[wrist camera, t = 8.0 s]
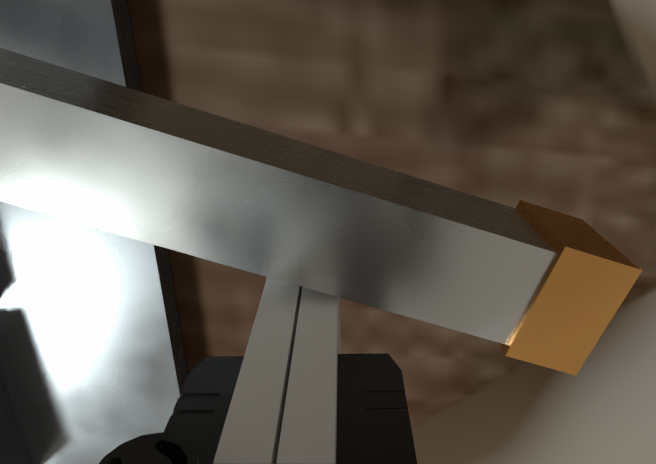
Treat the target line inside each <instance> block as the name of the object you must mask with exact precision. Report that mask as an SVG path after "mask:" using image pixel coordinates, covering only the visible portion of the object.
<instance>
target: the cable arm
mask: <svg viewBox="0 0 656 464" xmlns="http://www.w3.org/2000/svg"><path fill="white" fill-rule="evenodd" d="M0 201H2V202H5V203H9V204H12V205H16V206H19V207H23V208H26V209H30V210H33V211H37V212H40V213H44V214H47V215H51V216H54V217H58V218H62V219H65V220H69V221H72V222H76V223H79V224H83V225H86V226H90V227H93V228H97V229H100V230H104V231H107V232H111V233H114V234H118V235H121V236H125V237H129V238H132V239H136V240H139V241H143V242H146V243H150V244H153V245H157V246H160V247H164V248H167V249H171V250H174V251H178V252H181V253H185V254H188V255H192V256H196V257H199V258H203V259H206V260H210V261H213V262H217V263H220V264H224V265H227V266H231V267H234V268H238V269H241V270H245V271H248V272H252V273H256V274H259V275H263V276H266V277H270V278H273V279H277V280H280V281H284V282H287V283H291V284H294V285H298V286H301V287H305V288H308V289H312V290H315V291H319V292H323V293H326V294H330V295H333V296H337V297H340V298H344V299H347V300H351V301H354V302H358V303H361V304H365V305H368V306H372V307H375V308H379V309H382V310H386V311H390V312H393V313H397V314H400V315H404V316H407V317H411V318H414V319H418V320H421V321H425V322H428V323H432V324H435V325H439V326H442V327H446V328H450V329H453V330H457V331H460V332H464V333H467V334H471V335H474V336H478V337H481V338H485V339H488V340H492V341H495V342H499V344H500V346H501V348H502V350H503V352H504V354H505V356H508V357H512V358H515V359H519V360H522V361H526V362H530V363H533V364H537V365H540V366H544V367H548V368H552V369H555V370H558V371H562V372H565V373H569V374H572V375H576V374H577V373H578V371H579V370H580V368H581V366H582V365H583V363H584V362H585V360H586V358H587V357H588V355H589V354H590V352H591V351H592V349H593V347H594V346H595V344H596V343H597V341H598V340H599V338H600V336H601V335H602V333H603V332H604V330H605V328H606V327H607V325H608V324H609V322H610V321H611V319H612V318H613V316H614V314H615V313H616V311H617V310H618V308H619V306H620V305H621V303H622V302H623V300H624V299H625V297H626V295H627V294H628V292H629V291H630V289H631V288H632V286H633V284H634V283H635V281H636V280H637V278H638V276H639V275H640V273H641V272H642V269H640V268H639V267H638V266H637V265H636V264H635V263H633V262H632V261H631V260H630V259H629V258H627V257H626V256H625V255H624V254H623V253H621V252H620V251H619V250H618V249H617V248H615V247H614V246H613V245H612V244H611V243H609V242H608V241H607V240H606V239H605V238H604V237H602V236H601V235H600V234H599V233H598V232H596V231H595V230H594V229H593V228H592V227H590V226H589V225H588V224H587V223H586V222H584V221H583V220H582V219H579V218H576V217H573V216H570V215H566V214H563V213H560V212H557V211H554V210H550V209H547V208H544V207H541V206H538V205H534V204H531V203H528V202H525V201H522V200H520V201H519V203H518V205H517V207H516V208H512V207H509V206H506V205H503V204H500V203H496V202H493V201H490V200H487V199H484V198H480V197H477V196H474V195H471V194H468V193H464V192H461V191H458V190H455V189H452V188H448V187H445V186H442V185H439V184H436V183H432V182H429V181H426V180H423V179H419V178H416V177H413V176H410V175H407V174H403V173H400V172H397V171H394V170H391V169H387V168H384V167H381V166H378V165H375V164H371V163H368V162H365V161H362V160H359V159H355V158H352V157H349V156H346V155H343V154H339V153H336V152H333V151H330V150H326V149H323V148H320V147H317V146H314V145H310V144H307V143H304V142H301V141H298V140H294V139H291V138H288V137H285V136H282V135H278V134H275V133H272V132H269V131H266V130H262V129H259V128H256V127H253V126H250V125H246V124H243V123H240V122H237V121H233V120H230V119H227V118H224V117H221V116H217V115H214V114H211V113H208V112H205V111H201V110H198V109H195V108H192V107H189V106H185V105H182V104H179V103H176V102H173V101H169V100H166V99H163V98H160V97H157V96H153V95H150V94H147V93H144V92H140V91H137V90H134V89H131V88H128V87H124V86H121V85H118V84H115V83H112V82H108V81H105V80H102V79H99V78H96V77H92V76H89V75H86V74H83V73H80V72H76V71H73V70H70V69H67V68H63V67H60V66H57V65H54V64H51V63H47V62H44V61H41V60H38V59H35V58H31V57H28V56H25V55H22V54H19V53H15V52H12V51H9V50H6V49H3V48H0Z"/></svg>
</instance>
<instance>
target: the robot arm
mask: <svg viewBox="0 0 656 464" xmlns="http://www.w3.org/2000/svg"><path fill="white" fill-rule="evenodd" d="M99 464H417V460H416V454H415V448H414V442H413V437H412V430H411V424H410V418H409V412H408V407H407V401H406V395H405V389H404V383H403V377H402V371H401V369H400V368H399V367H398V366H397V364H396V363H395V362H394V361H393V359H392V358H391V357H390V355H389V354H340V303H339V297H337V296H333V295H330V294H326V293H323V292H319V291H315V290H312V289H308V288H305V287H301V286H298V285H294V284H291V283H287V282H284V281H280V280H277V279H273V278H270V277H267V280H266V283H265V286H264V290H263V293H262V297H261V300H260V304H259V307H258V311H257V314H256V317H255V321H254V324H253V328H252V331H251V335H250V338H249V341H248V345H247V348H246V352H245V355H244V356H237V357H206V358H205V359H204V360H203V361H201V362H200V363H199V364H198V365H197V366H196V367H195V368H194V369H193V370H192V371H191V372H190V373H189V375H188V377H187V379H186V381H185V384H184V386H183V388H182V391H181V393H180V398H178V400H177V402H176V405H175V407H174V409H173V415H171V416H170V418H169V421H168V423H167V425H166V428H165V430H164V432H163V433H162V432H160V433H154V434H147V435H141V436H139V437H136V438H134V439H132V440H129V441H127V442H124V443H122V444H120V445H119V446H118V447H116V448H115V449H114V450H112V451H111V452H110V453H108V454H107V455H106V456H104V457H103V459H102V460H101V461H100V462H99Z"/></svg>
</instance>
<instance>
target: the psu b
mask: <svg viewBox="0 0 656 464" xmlns="http://www.w3.org/2000/svg"><path fill="white" fill-rule="evenodd" d="M0 464H34V463H33V460H32V457H31V454H30V452H29V449H28V446H27V443H26V440H25V437H24V434H23V431H22V428H21V425H20V422H19V419H18V416H17V414H16V411H15V408H14V405H13V402H12V399H11V396H10V393H9V390H8V387H7V384H6V381H5V378H4V376H3V373H2V370H1V367H0Z"/></svg>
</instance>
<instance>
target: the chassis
mask: <svg viewBox="0 0 656 464" xmlns="http://www.w3.org/2000/svg"><path fill="white" fill-rule="evenodd" d="M0 48H3V49H6V50H9V51H12V52H15V53H19V54H22V55H25V56H28V57H31V58H35V59H38V60H41V61H44V62H47V63H51V64H54V65H57V66H60V67H63V68H67V69H70V70H73V71H76V72H80V73H83V74H86V75H89V76H92V77H96V78H99V79H102V80H105V81H108V82H112V83H115V84H118V85H121V86H124V87H128V88H131V89H134V90H137V91H140V92H142V90H141V84H140V78H139V71H138V65H137V59H136V53H135V47H134V41H133V35H132V29H131V22H130V16H129V10H128V4H127V0H0ZM0 367H1V370H2V373H3V376H4V378H5V381H6V384H7V387H8V390H9V393H10V396H11V399H12V402H13V405H14V408H15V411H16V414H17V416H18V419H19V422H20V425H21V428H22V431H23V434H24V437H25V440H26V443H27V446H28V449H29V452H30V454H31V457H32V460H33V463H34V464H99V462H100V461H101V460H102V459H103V457H104V456H106V455H107V454H108V453H110V452H111V451H112V450H114V449H115V448H116V447H118V446H119V445H120V444H122V443H124V442H127V441H129V440H132V439H134V438H136V437H139V436H141V435H147V434H154V433H160V432H162V433H163V432H164V430H165V428H166V425H167V423H168V421H169V418H170V416H171V415H173V409H174V407H175V405H176V402H177V400H178V398H180V393H181V391H182V388H183V386H184V384H185V381H186V379H187V377H188V371H187V365H186V359H185V353H184V347H183V341H182V335H181V329H180V322H179V316H178V310H177V304H176V298H175V292H174V286H173V280H172V273H171V267H170V261H169V255H168V249H167V248H164V247H160V246H157V245H153V244H150V243H146V242H143V241H139V240H136V239H132V238H129V237H125V236H121V235H118V234H114V233H111V232H107V231H104V230H100V229H97V228H93V227H90V226H86V225H83V224H79V223H76V222H72V221H69V220H65V219H62V218H58V217H54V216H51V215H47V214H44V213H40V212H37V211H33V210H30V209H26V208H23V207H19V206H16V205H12V204H9V203H5V202H2V201H0Z"/></svg>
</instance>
